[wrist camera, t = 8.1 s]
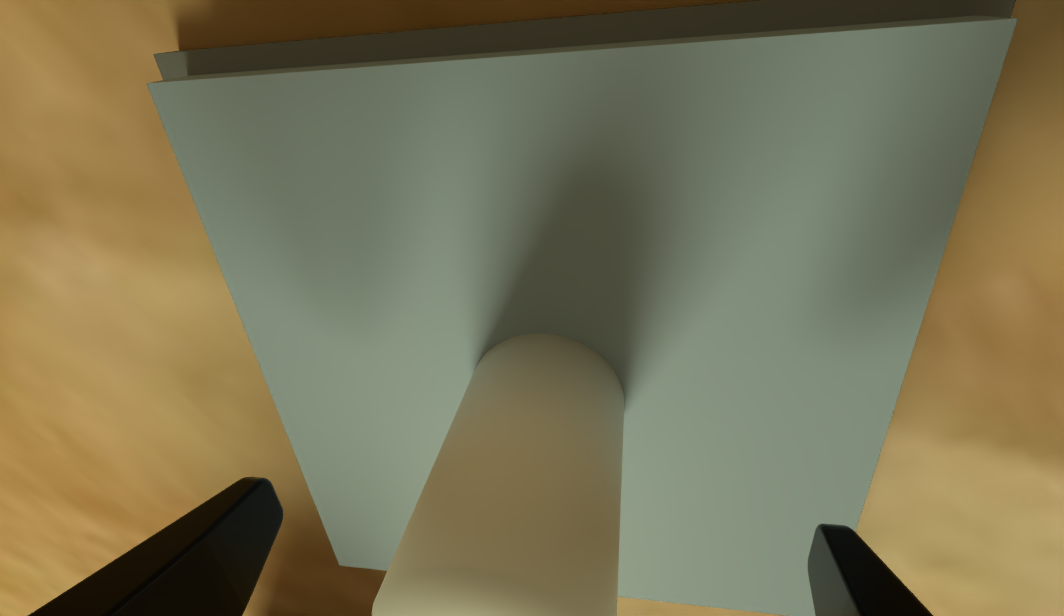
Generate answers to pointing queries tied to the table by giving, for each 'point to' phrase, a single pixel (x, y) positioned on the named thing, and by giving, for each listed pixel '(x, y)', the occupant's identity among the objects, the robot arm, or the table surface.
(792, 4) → the mat
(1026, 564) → the table surface
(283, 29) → the table surface
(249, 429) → the table surface
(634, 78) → the lid
